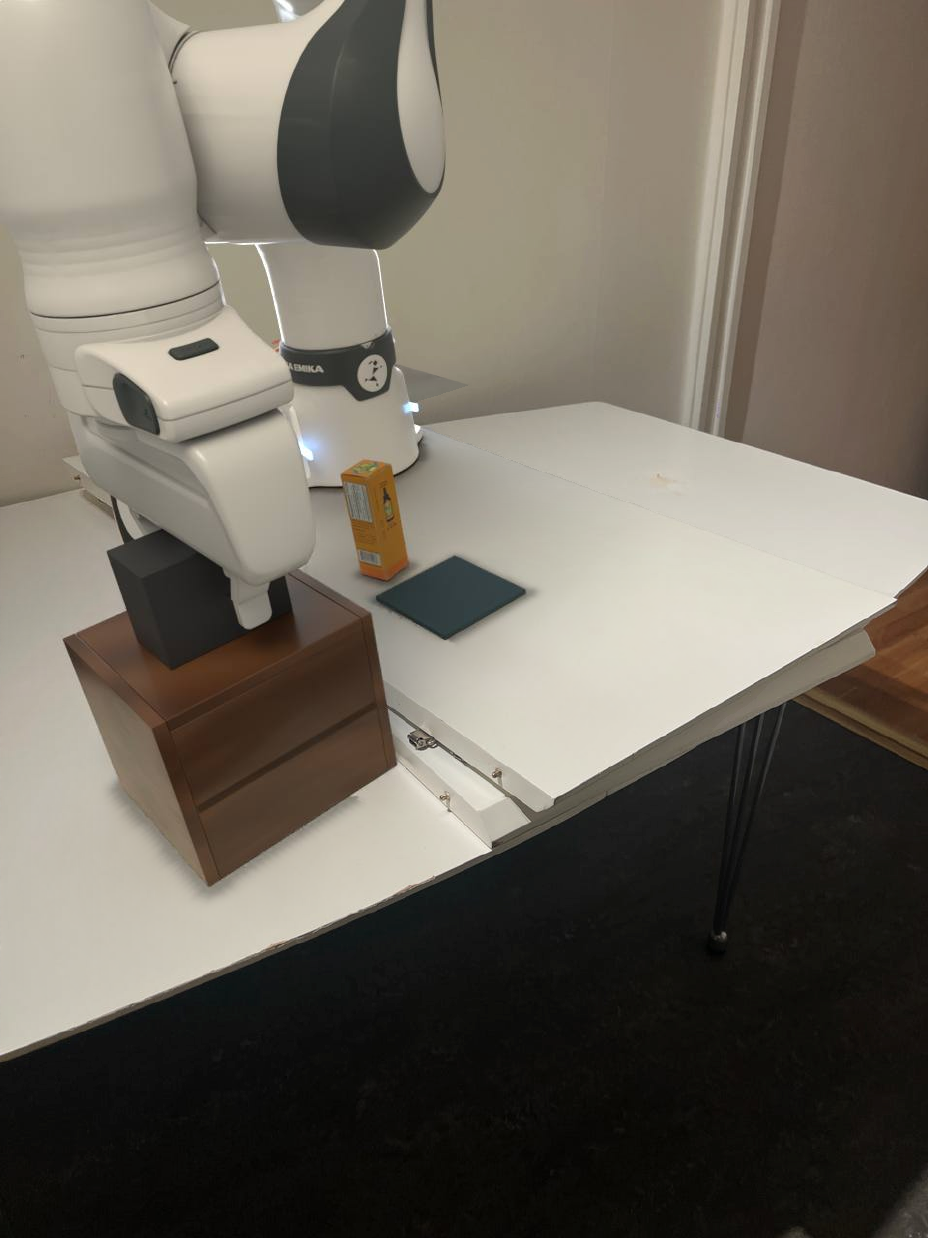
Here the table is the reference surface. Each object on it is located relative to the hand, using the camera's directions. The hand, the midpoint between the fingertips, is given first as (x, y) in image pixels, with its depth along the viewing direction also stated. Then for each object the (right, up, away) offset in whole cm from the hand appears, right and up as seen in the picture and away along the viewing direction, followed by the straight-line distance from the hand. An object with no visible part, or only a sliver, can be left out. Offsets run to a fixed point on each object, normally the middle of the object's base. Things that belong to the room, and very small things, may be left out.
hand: (212, 592), depth 52 cm
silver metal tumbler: (-7, -4, +22) cm, 23 cm away
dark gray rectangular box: (0, -2, +1) cm, 2 cm away
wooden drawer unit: (+1, -12, +8) cm, 14 cm away
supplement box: (+7, +3, +29) cm, 30 cm away
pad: (+13, 0, +24) cm, 28 cm away
